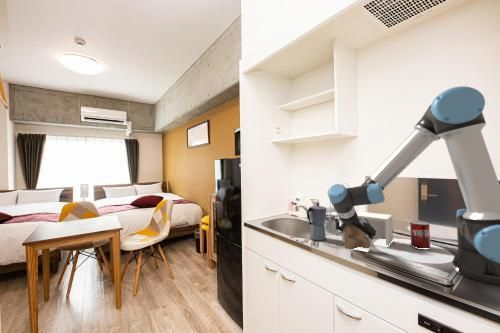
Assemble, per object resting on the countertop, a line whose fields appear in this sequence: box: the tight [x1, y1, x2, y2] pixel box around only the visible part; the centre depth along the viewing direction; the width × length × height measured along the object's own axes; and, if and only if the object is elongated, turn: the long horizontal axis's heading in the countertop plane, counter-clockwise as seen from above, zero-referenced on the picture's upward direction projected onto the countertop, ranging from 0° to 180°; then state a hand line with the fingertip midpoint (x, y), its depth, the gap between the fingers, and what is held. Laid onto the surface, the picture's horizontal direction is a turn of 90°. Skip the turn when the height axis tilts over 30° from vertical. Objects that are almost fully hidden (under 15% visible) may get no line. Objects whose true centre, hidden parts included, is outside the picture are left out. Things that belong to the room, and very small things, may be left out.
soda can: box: [409, 220, 431, 249], centre depth 102 cm, size 7×7×12 cm
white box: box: [340, 210, 394, 246], centre depth 114 cm, size 22×11×14 cm, turn 47°
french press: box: [324, 200, 341, 236], centre depth 132 cm, size 10×12×25 cm
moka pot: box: [306, 202, 327, 242], centre depth 120 cm, size 10×15×20 cm, turn 129°
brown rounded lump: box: [344, 225, 371, 250], centre depth 103 cm, size 10×5×12 cm, turn 47°
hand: (358, 238), depth 105 cm, fingers closed on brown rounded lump, 10 cm apart
